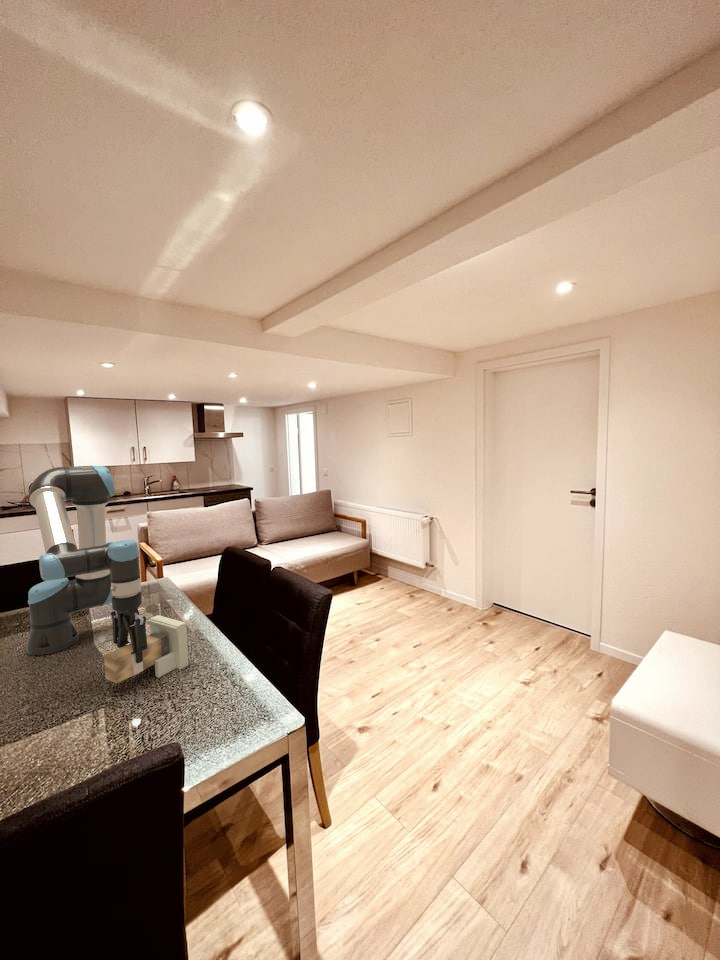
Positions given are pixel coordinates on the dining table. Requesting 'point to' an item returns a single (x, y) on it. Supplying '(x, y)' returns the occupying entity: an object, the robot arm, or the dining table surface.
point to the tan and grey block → (121, 659)
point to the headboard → (170, 644)
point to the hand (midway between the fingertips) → (131, 669)
